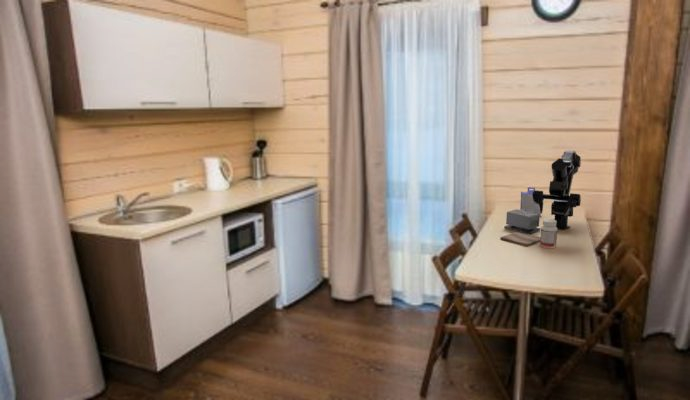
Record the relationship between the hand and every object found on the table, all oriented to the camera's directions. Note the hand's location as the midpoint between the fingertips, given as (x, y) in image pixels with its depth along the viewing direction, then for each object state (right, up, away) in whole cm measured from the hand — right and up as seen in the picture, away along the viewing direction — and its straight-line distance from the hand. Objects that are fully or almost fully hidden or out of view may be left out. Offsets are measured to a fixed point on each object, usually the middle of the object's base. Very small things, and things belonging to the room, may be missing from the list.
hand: (552, 214), depth 195 cm
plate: (-10, -11, +7) cm, 17 cm away
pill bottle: (-3, -14, -2) cm, 14 cm away
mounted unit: (-4, -8, +22) cm, 24 cm away
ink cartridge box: (+9, -2, +47) cm, 48 cm away
